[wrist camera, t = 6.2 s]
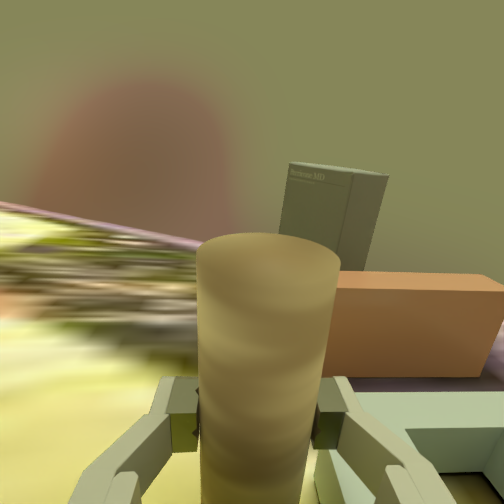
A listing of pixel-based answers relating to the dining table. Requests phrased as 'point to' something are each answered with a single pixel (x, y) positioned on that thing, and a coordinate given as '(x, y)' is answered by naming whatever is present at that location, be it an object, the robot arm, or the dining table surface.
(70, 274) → the dining table surface
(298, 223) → the skincare box
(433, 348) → the wall
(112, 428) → the dining table surface
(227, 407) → the dowel
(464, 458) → the block
